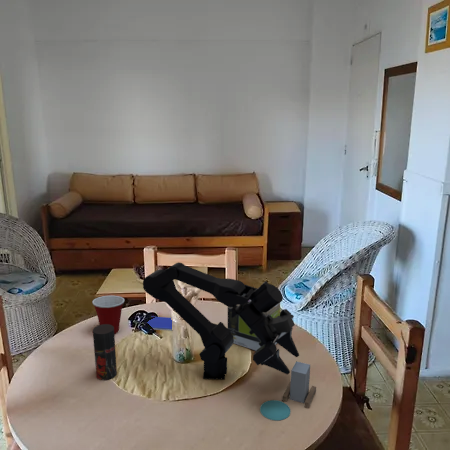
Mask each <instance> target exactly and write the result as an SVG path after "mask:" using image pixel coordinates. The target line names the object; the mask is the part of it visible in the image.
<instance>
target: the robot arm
mask: <svg viewBox="0 0 450 450" xmlns="http://www.w3.org/2000/svg"><path fill="white" fill-rule="evenodd" d="M174 280H175V281H179V282H181V283H182V284H183V283H184V284H187V285H189V286H191V287H194V288H196V289H199V290H201V291H204V292H205V293H208V294H211V295H212V296H213V297H214V299H216V300H217V302H219V303H222V305H224V306H226V307H227V308H228V307H232V308H231V309H232V314H231V318H234V317H235V316H236V315H239V316H240V318H241V319H242V320H243V321H244V322H245V324H246V325H247V326H248V327H249V328H250V329H251V330H250V331H249V333H250V334H251V335H252V334H253V333H254V334H255V335H256V337H257V338H258V339H259V340H260V343H259V345H260V346H261V347H260V348H258V349H257V350H255V352H254V353H253V355H252V361H254V363H255V364H256V365H257V366H263V365H264V366H267V367H269V368H272V369H274V370H276V371H279V372H281V373H282V374H285V375H289V374H291V371H290V369H289V367H288V366H287V364H286V363H285V362H284V360H283V359H282V357H281V356H280V348H277V345H279V346H281V347H282V348H283V349H284V350H285V351H287V352H288V353H290V355H292V356H294V357H295V358H299V356H300V354H299V351H298V349H297V346H296V344H295V342H294V339H293V336H292V331H293V329H294V328H293V327H295V322H294V319H293V318H294V315H293V314H292V313H291V312H290V311H289V310H288V309H287V308H285V309H281V310H280V316H277V317H276V318H273V317H272V316H271V315H269V314H268V315H267V316H266V315H265V314H264V313H267V312H268V311H270V310H271V309H272V308H274V307H275V306H276V305H278V304H279V303H280V304H281V303H282V302H283V299H284V297H283V294H282V292H281V289H279V288H278V287H276V286H275V285H274V284H271V283H269V282H268V281H267V280H266V281H263V282H262V284H261V285H260V286H259V287H258V288H257V287H255V286H250V285H247V284H245V283H244V282H243V281H241V280H238V279H233V278H220V277H216V276H213V275H211V274H208V273H206V272H204V271H200V270H198V269H195V268H193V267H191V266H187V265H185V264H184V263H182V262H179V261H177V262H175V263H174V264H173V265H171V266H169V267H167V268H166V269H157V270H155V271H154V272H152V273H150V274H148V275H147V276H145V277H144V278H143V280H142V289H143V291H145V292H146V293H147V294H148V295H149V296H150V297H152V298H153V299H156V300H159V301H161V302H165V303H166V304H167V305H168V306H169V307H170V308H171V309H172V310H173V311H174V312H175V313H176V314H177V315H178V316H179V317H180V318H181V319H182V320H184V322H185V323H187V325H189V326H190V327H191V328H192V329H193V330H194V331H195V332H196V334H198V335H199V336H200V340H201V343H202V346H203V347H204V348H203V349H202V350H201V351H200V353H199V358H200V361H201V362H202V361H203V373H202V380H225V379H226V375H227V374H228V357H226V354H227V352H228V351H229V350H230V349H231V347H232V346H233V345H234V343H233V342H234V339H233V335H232V334H231V332H230V331H231V330H229V329H228V327H227V326H226V325H225V324H224V323H223V322H222V321H220V322H218V323H217V324H216V323H213V322H211V321H210V319H208V318H207V317H206V316H205V315H204V314H203V313H202V312H201V311H200V310H199V309H198V308H197V307H196V306H195V305H194V304H193V303H191V302H190V301H189V300H188V299H187V298H186V297H185V296H184V295H183V294H182V293H181V292H180V291H178V289H177V287H176V284H175V281H174ZM249 300H251V301H249ZM248 301H249V302H248ZM236 305H239V306H236ZM263 312H264V313H263ZM275 342H276V343H277V344H276V345H275Z"/></svg>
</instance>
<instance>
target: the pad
mask: <svg viewBox="0 0 450 450" xmlns="http://www.w3.org/2000/svg"><path fill="white" fill-rule="evenodd" d="M259 411H260V414H261V415H262V416H263V417H265V418H266V419H268V420H271V421H283V420H285V419H287V418H288V417H290V415H291V412H292V411H291V408H290V406H289V405H288V404H287V403H286V402H284V401H282V400H277V399H275V400H274V399H273V400H272V399H271V400H267V401H265V402H263V403H262V404H261V405H260V408H259Z"/></svg>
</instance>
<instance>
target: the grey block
mask: <svg viewBox="0 0 450 450" xmlns="http://www.w3.org/2000/svg"><path fill="white" fill-rule="evenodd" d="M310 374H311V364H310V363H305V362H301V361H296V362H294V365H293V367H292V368H291V371H290V381H291V385H290V396H289V400H290V401H293V402H298V403H301V404H305V401H306V398H307V396H308V394H309V391H310V379H311V377H310Z"/></svg>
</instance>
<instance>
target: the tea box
mask: <svg viewBox="0 0 450 450" xmlns="http://www.w3.org/2000/svg"><path fill="white" fill-rule="evenodd" d="M249 301H251V300H249ZM249 301H248V302H249ZM236 306H239V305H236ZM231 308H232V307H228V306H227V328H228V329H229V330H231V331H230V332H231V334H232V335H233V339H234V342H233V345H234V344H235V345H237V346H241V347H243V348H246V349H250V350H253V351H256V350H257V349H258V348H260V347H261V346H260V345H259V343H260V340H259V339H258V338H257V337H256V335H255V334H254V333H253V334H252V335H251V334H250V333H249V331H250V330H251V329H250V328H249V327H248V326H247V325H246V324H245V322H244V321H243V320H242V319H241V318H240V316H239V315H236V316H235V317H234V318H231V314H232V309H231ZM280 312H281V302H280V303H279V304H278V305H276V306H275V307H274V308H272V309H271V310H270V311H268V312H267V313H264V312H263V313H264V314H265V315H266V316H267V315H268V314H269V315H271V316H272V317H273V318H276V317H277V316H280ZM275 345H276V346H277V345H278V343H276V342H275Z"/></svg>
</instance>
